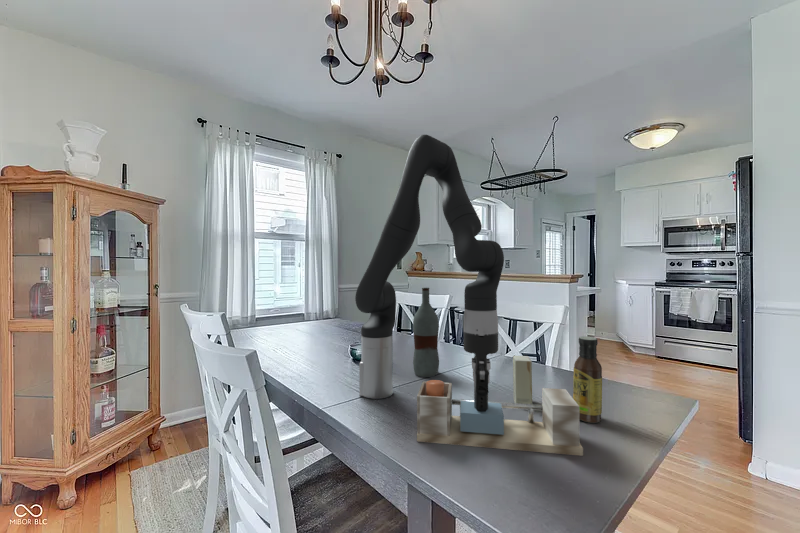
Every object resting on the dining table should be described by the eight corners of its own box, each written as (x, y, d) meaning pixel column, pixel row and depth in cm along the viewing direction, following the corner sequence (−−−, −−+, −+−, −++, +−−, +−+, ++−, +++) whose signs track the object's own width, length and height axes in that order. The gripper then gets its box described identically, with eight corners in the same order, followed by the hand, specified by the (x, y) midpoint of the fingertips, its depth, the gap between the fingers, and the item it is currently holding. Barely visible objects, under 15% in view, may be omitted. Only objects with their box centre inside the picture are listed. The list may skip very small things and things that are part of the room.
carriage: (460, 431, 76) (460, 384, 76) (461, 417, 83) (460, 374, 83) (503, 434, 75) (503, 387, 75) (500, 420, 82) (500, 376, 82)
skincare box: (532, 407, 94) (532, 361, 94) (515, 406, 95) (515, 360, 95) (529, 398, 100) (528, 355, 100) (512, 397, 101) (512, 354, 101)
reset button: (425, 403, 79) (425, 385, 79) (427, 396, 83) (427, 379, 83) (443, 404, 79) (443, 386, 79) (444, 397, 83) (444, 380, 83)
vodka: (435, 378, 118) (434, 288, 118) (409, 376, 122) (408, 288, 122) (442, 371, 127) (441, 287, 127) (417, 368, 130) (417, 286, 130)
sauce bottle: (567, 413, 90) (567, 335, 90) (591, 412, 91) (590, 334, 91) (583, 425, 84) (583, 340, 84) (608, 423, 84) (607, 339, 84)
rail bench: (416, 441, 76) (416, 397, 76) (423, 419, 87) (422, 380, 87) (583, 455, 70) (582, 407, 70) (567, 430, 81) (567, 388, 81)
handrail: (452, 417, 85) (451, 400, 85) (452, 415, 86) (452, 398, 86) (542, 424, 81) (542, 406, 81) (541, 421, 82) (541, 404, 82)
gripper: (463, 324, 87) (464, 395, 87) (463, 335, 73) (463, 419, 73) (495, 325, 85) (495, 397, 85) (501, 336, 71) (501, 422, 71)
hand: (481, 407), depth 79 cm, fingers closed on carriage, 3 cm apart
